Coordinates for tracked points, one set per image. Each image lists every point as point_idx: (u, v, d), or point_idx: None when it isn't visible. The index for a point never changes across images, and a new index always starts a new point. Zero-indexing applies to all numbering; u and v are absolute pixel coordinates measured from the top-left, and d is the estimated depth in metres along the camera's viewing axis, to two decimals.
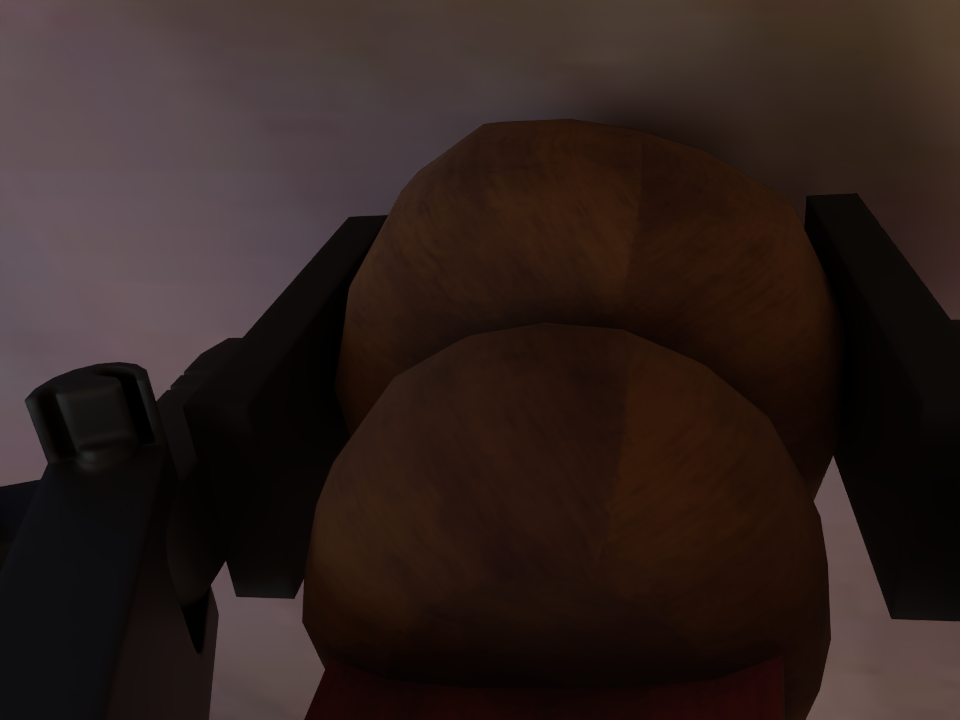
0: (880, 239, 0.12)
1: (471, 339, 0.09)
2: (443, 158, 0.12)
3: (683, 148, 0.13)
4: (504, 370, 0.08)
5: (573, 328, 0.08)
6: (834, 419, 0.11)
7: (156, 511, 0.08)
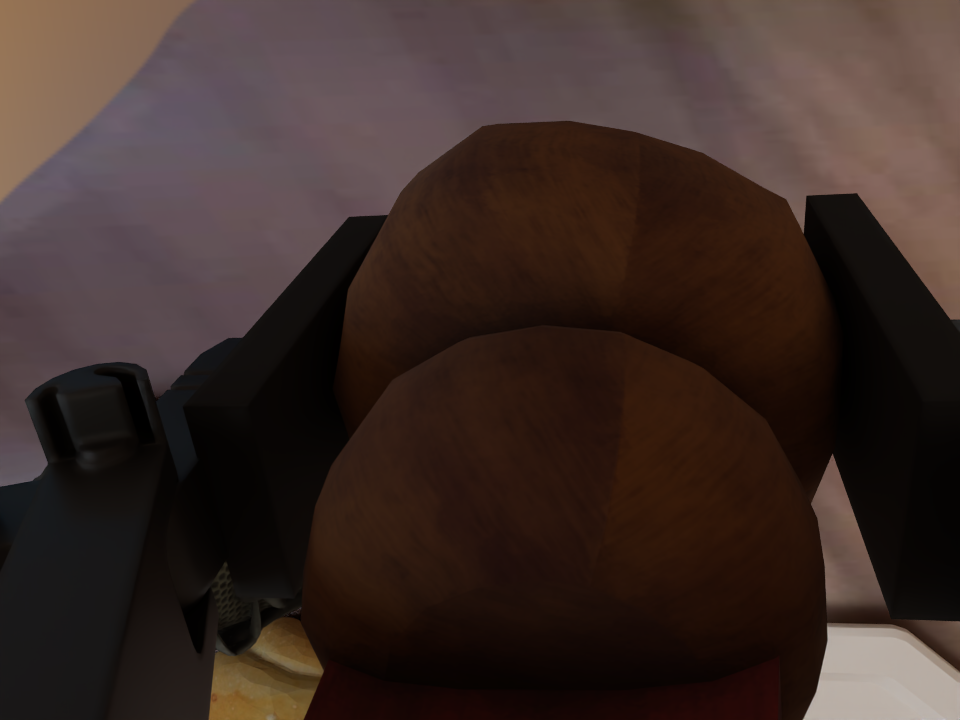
0: (880, 239, 0.12)
1: (470, 342, 0.09)
2: (442, 160, 0.12)
3: (681, 150, 0.13)
4: (501, 373, 0.08)
5: (571, 331, 0.08)
6: (832, 421, 0.11)
7: (156, 510, 0.08)
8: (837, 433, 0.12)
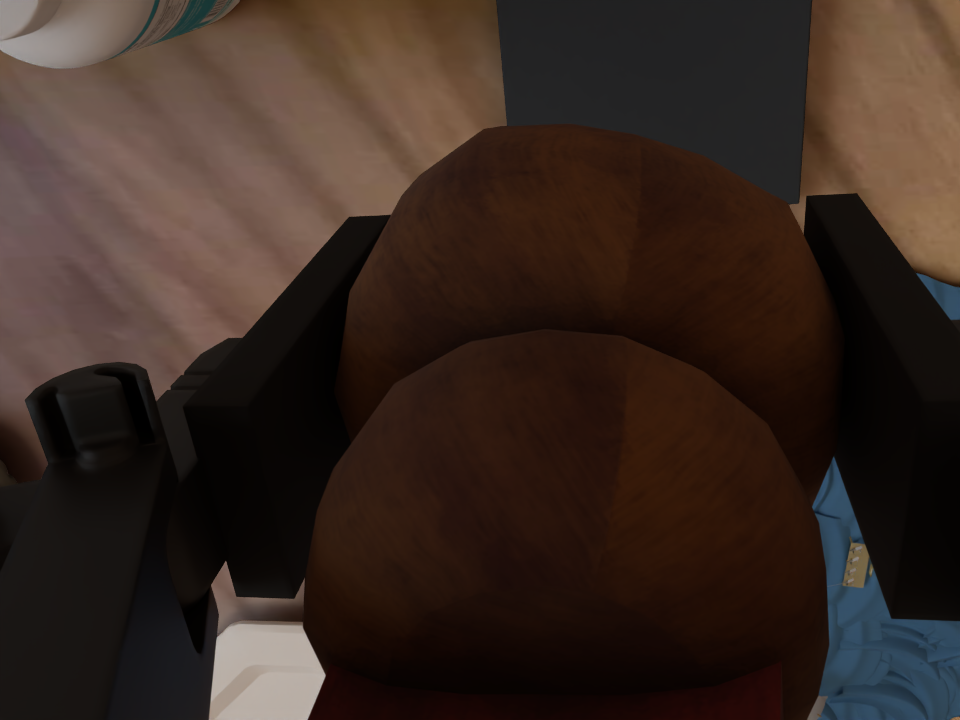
0: (880, 239, 0.12)
1: (471, 345, 0.09)
2: (443, 163, 0.12)
3: (682, 153, 0.13)
4: (504, 377, 0.08)
5: (573, 335, 0.08)
6: (833, 424, 0.11)
7: (156, 510, 0.08)
8: None
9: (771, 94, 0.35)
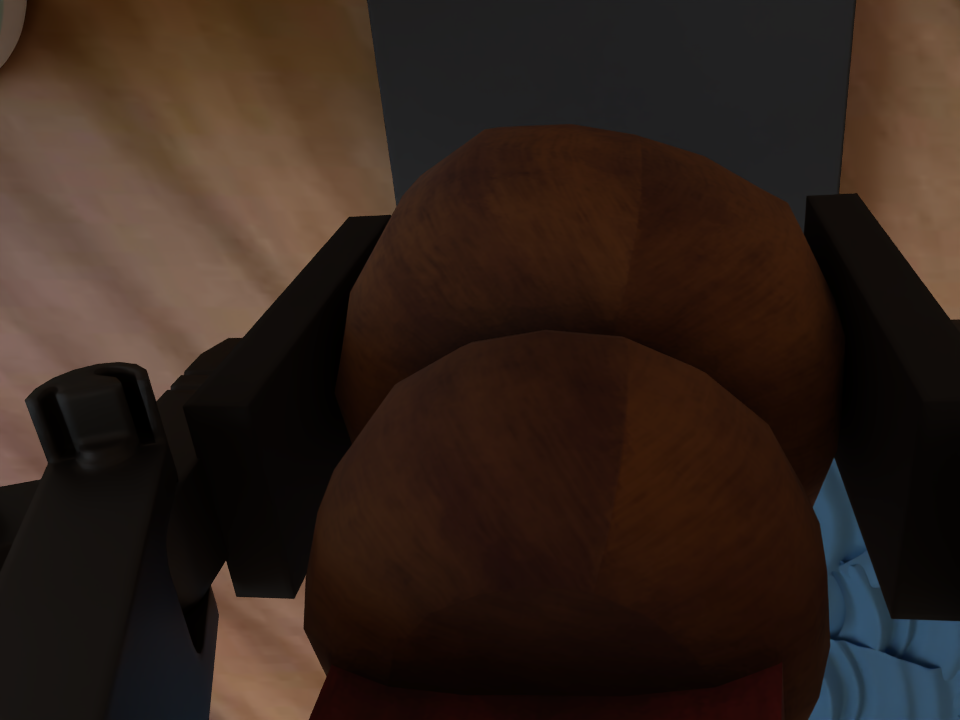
0: (880, 239, 0.12)
1: (472, 346, 0.09)
2: (444, 163, 0.12)
3: (683, 153, 0.13)
4: (503, 378, 0.08)
5: (573, 335, 0.08)
6: (834, 425, 0.11)
7: (156, 510, 0.08)
8: None
9: None
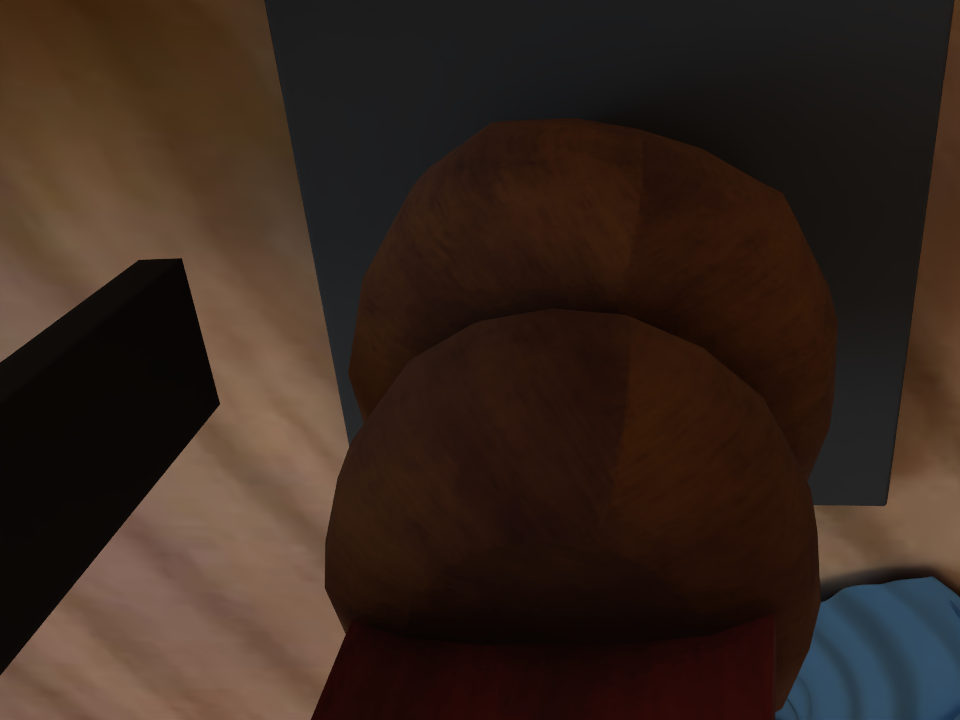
0: None
1: (482, 323, 0.09)
2: (452, 155, 0.13)
3: (682, 146, 0.14)
4: (514, 351, 0.08)
5: (578, 313, 0.09)
6: (826, 403, 0.11)
7: None
8: None
9: (840, 316, 0.18)
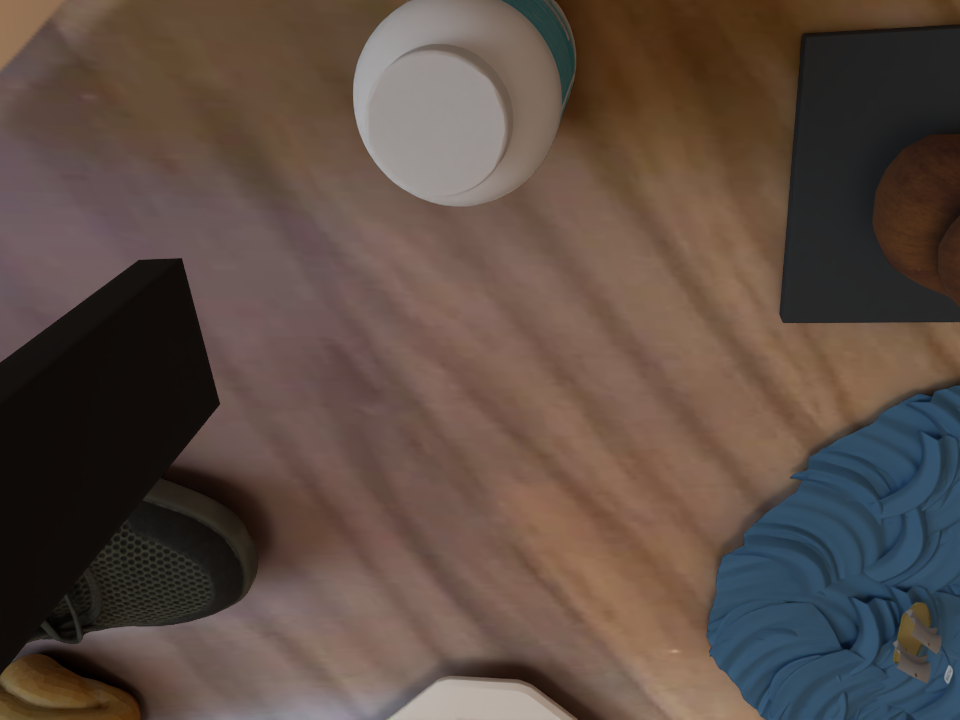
0: None
1: None
2: (928, 147, 0.34)
3: None
4: None
5: None
6: None
7: None
8: None
9: None
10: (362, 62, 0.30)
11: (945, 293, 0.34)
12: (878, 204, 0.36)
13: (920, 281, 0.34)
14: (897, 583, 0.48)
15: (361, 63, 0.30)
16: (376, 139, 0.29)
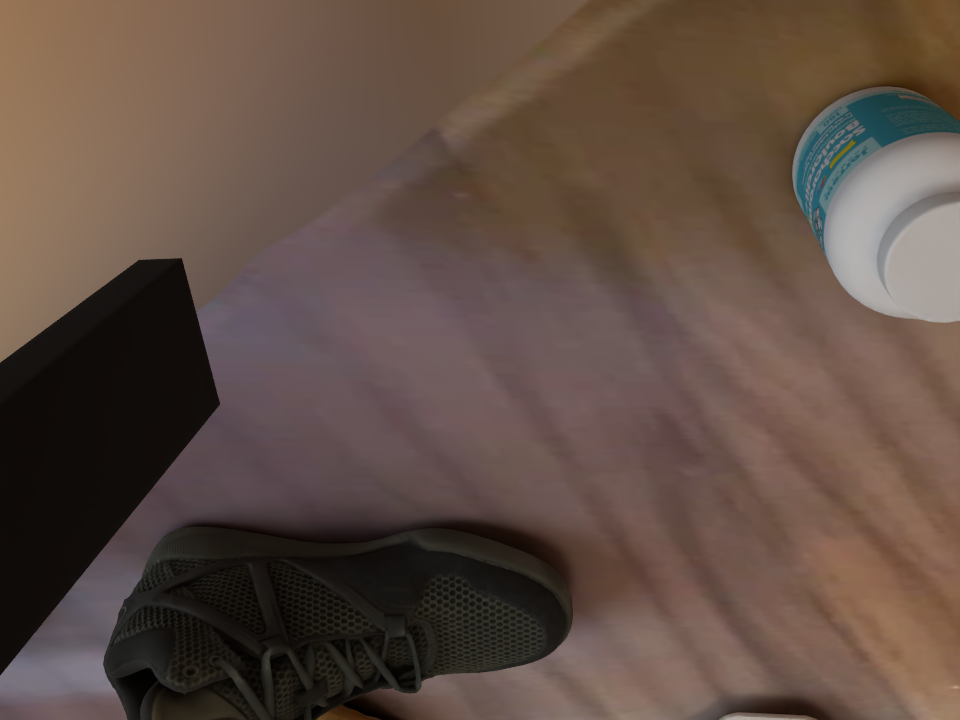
0: None
1: None
2: None
3: None
4: None
5: None
6: None
7: None
8: None
9: None
10: (854, 198, 0.34)
11: None
12: None
13: None
14: None
15: (852, 199, 0.34)
16: (893, 275, 0.32)
